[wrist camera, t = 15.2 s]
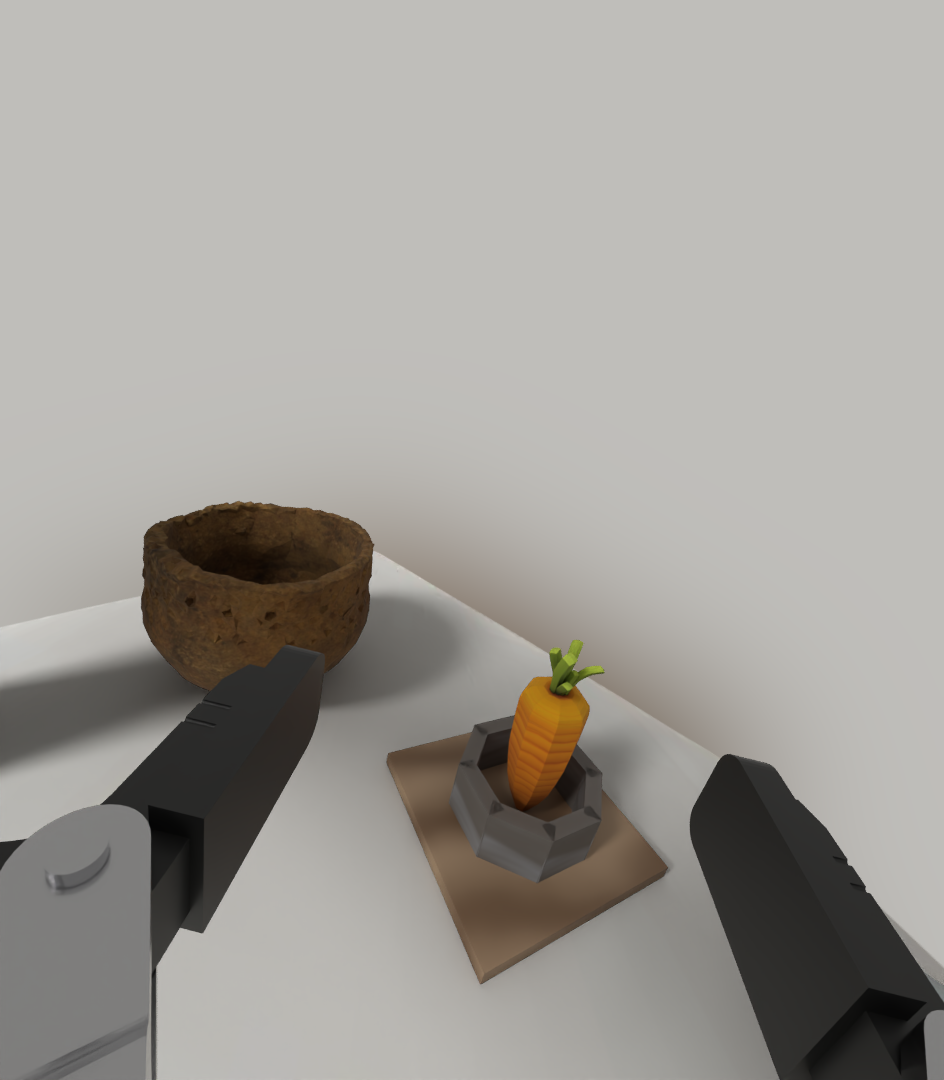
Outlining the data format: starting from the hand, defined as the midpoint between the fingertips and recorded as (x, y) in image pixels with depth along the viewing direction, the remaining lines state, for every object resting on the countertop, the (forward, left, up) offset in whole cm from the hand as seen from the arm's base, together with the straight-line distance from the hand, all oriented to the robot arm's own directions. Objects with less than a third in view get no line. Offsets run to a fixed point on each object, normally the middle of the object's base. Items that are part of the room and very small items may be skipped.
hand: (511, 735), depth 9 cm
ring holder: (-13, +16, -25) cm, 32 cm away
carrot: (-13, +16, -24) cm, 32 cm away
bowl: (-35, 0, -25) cm, 43 cm away
